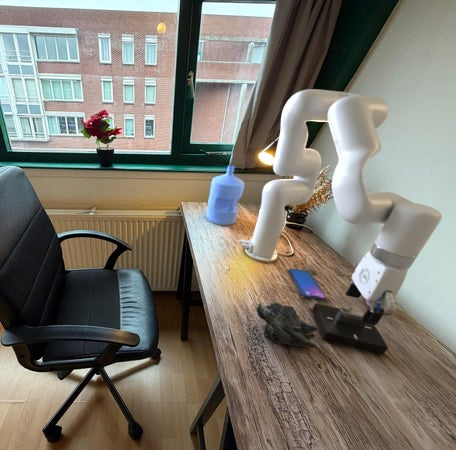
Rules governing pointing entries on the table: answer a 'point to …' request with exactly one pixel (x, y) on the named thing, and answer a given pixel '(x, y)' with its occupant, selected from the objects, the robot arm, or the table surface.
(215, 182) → the water jug
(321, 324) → the plate
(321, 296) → the smartphone
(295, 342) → the mineral specimen
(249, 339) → the table surface
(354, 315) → the tap handle
